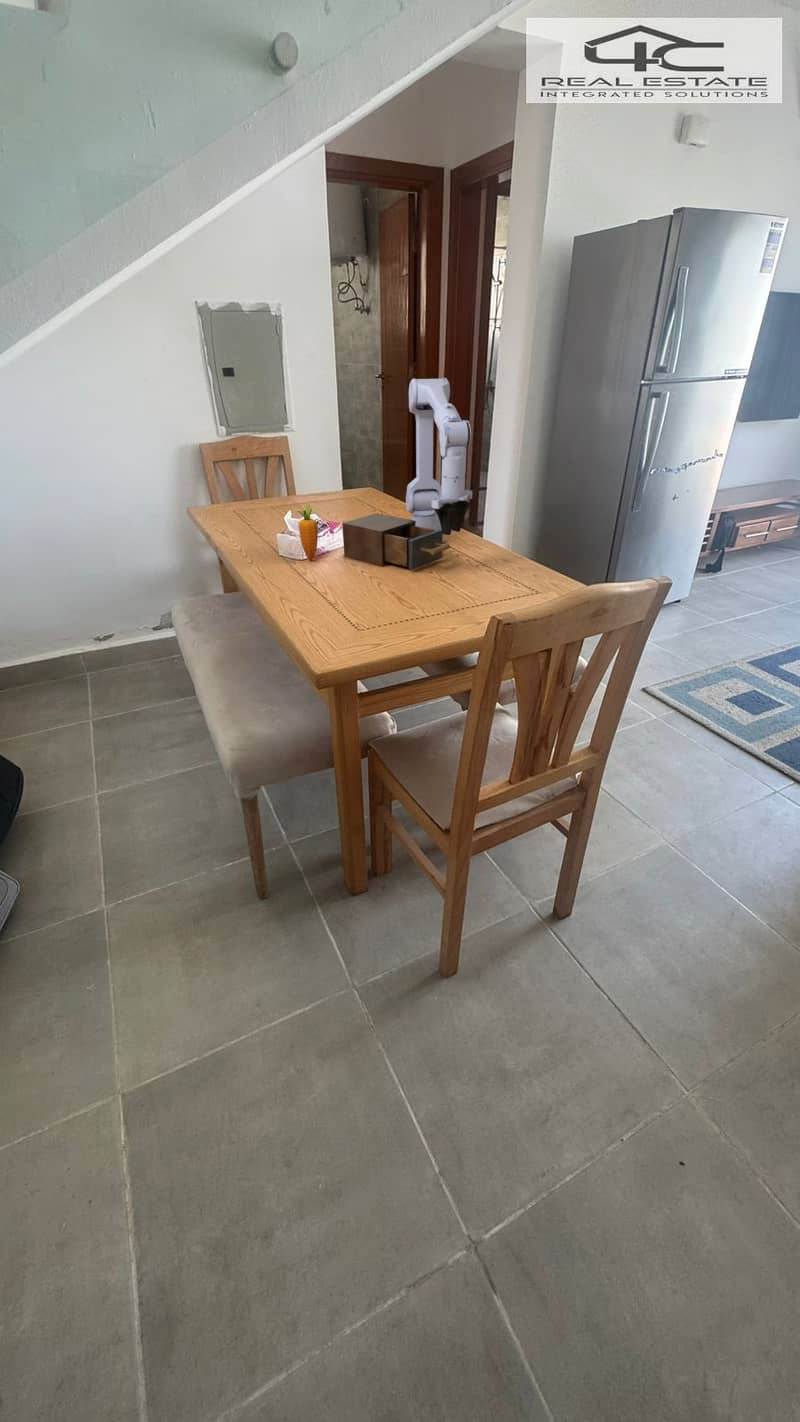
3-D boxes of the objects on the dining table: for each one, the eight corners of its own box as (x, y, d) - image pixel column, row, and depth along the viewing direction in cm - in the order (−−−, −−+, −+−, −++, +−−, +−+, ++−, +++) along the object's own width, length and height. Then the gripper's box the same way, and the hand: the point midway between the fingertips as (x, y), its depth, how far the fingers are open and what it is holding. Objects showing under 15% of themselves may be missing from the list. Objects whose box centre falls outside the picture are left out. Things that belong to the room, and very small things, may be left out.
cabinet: (415, 554, 173) (415, 520, 168) (382, 566, 164) (381, 531, 159) (377, 545, 181) (377, 513, 176) (344, 556, 172) (342, 522, 167)
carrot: (311, 564, 165) (306, 508, 157) (298, 561, 168) (292, 505, 160) (323, 560, 169) (319, 504, 161) (310, 557, 171) (306, 502, 163)
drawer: (456, 561, 164) (457, 533, 160) (426, 573, 156) (427, 544, 152) (404, 549, 174) (404, 522, 170) (374, 560, 166) (373, 532, 162)
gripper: (449, 482, 139) (447, 541, 147) (483, 473, 149) (480, 529, 156) (425, 479, 143) (424, 536, 150) (460, 470, 153) (457, 525, 160)
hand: (451, 532), depth 154 cm, fingers open, 4 cm apart
